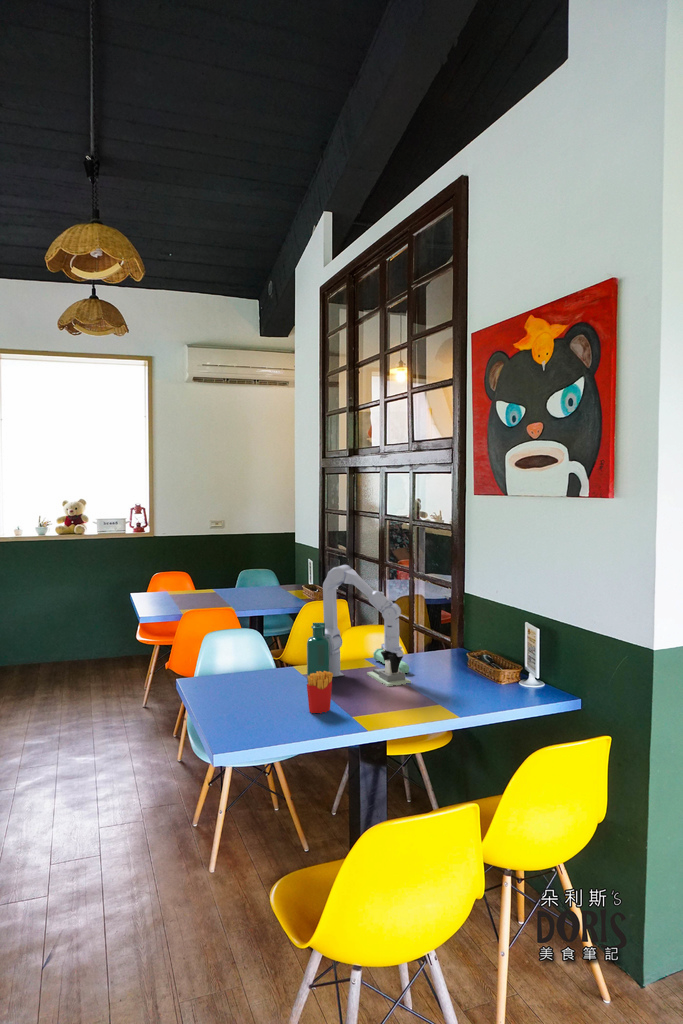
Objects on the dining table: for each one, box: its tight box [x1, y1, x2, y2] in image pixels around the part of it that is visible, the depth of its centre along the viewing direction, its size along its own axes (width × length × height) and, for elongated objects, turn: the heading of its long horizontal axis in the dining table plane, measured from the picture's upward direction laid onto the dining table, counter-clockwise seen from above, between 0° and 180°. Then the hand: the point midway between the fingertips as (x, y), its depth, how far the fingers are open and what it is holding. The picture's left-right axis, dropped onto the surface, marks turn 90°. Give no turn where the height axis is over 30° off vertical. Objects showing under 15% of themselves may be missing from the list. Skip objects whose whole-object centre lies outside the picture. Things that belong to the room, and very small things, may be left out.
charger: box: [384, 660, 399, 675], centre depth 264 cm, size 4×4×6 cm
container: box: [372, 648, 410, 674], centre depth 284 cm, size 6×6×25 cm
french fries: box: [306, 671, 334, 714], centre depth 229 cm, size 9×4×13 cm, turn 122°
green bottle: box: [306, 622, 330, 684], centre depth 264 cm, size 10×8×22 cm
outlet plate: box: [366, 667, 412, 687], centre depth 267 cm, size 10×18×3 cm, turn 23°
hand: (392, 671), depth 264 cm, fingers closed on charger, 4 cm apart
